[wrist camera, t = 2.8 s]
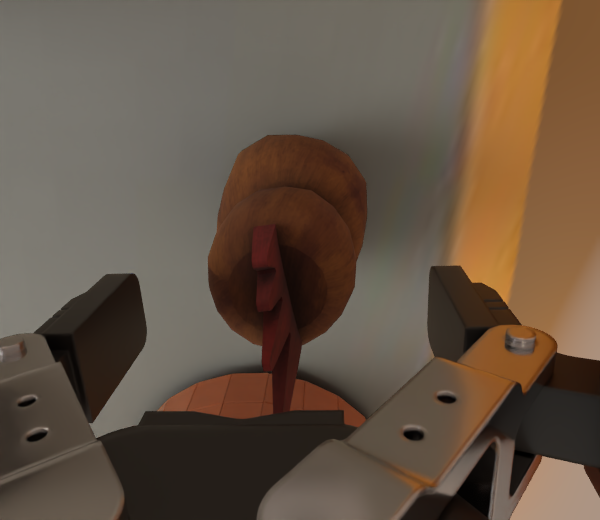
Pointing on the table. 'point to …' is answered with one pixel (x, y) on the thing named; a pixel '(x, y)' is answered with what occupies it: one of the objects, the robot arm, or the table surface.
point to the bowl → (255, 398)
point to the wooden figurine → (287, 248)
